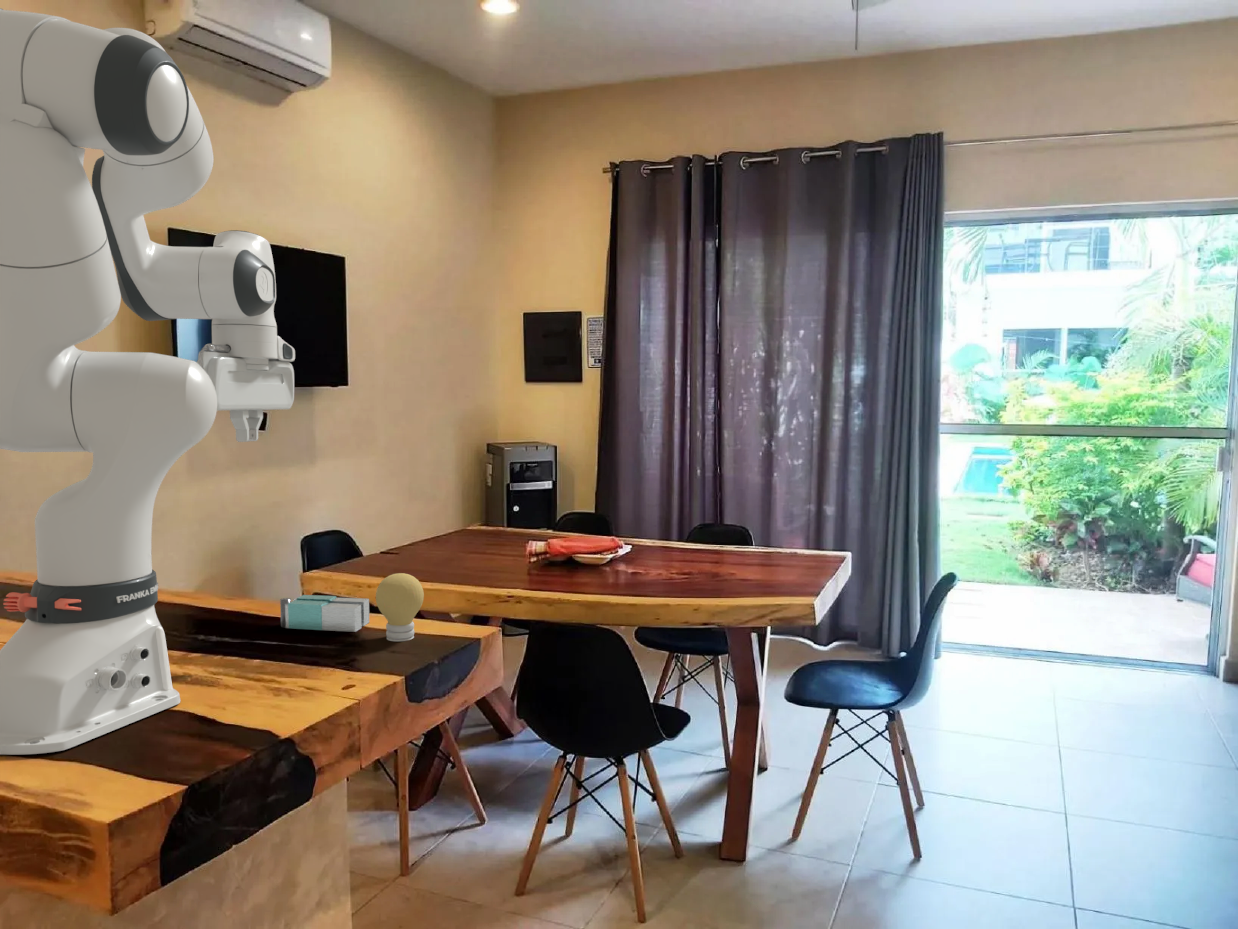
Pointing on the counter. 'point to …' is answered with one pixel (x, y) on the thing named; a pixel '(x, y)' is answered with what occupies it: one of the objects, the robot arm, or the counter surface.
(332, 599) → the tong arm
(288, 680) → the counter surface
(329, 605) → the tongs fixed arm
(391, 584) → the light bulb
